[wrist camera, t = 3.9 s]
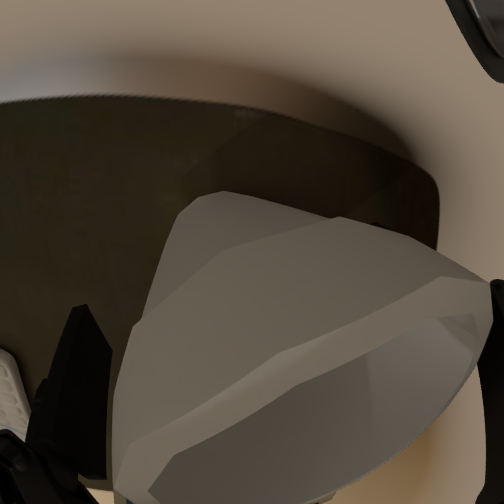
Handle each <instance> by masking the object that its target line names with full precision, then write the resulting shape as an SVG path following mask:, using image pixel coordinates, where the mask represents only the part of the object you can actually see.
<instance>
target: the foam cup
mask: <svg viewBox="0 0 504 504" xmlns="http://www.w3.org/2000/svg"><path fill="white" fill-rule="evenodd" d="M492 323H493V312H492V300H491V291H490V283H488V282H487V281H485V280H483V279H482V278H480V277H478V276H477V275H475V274H474V273H472V272H471V271H469V270H467V269H466V268H464V267H462V266H460V265H459V264H457V263H456V262H454V261H452V260H451V259H449V258H447V257H445V256H443V255H442V254H440V253H438V252H437V251H435V250H433V249H431V248H429V247H428V246H426V245H424V244H422V243H420V242H418V241H417V240H415V239H413V238H411V237H409V236H406V235H403V234H400V233H396V232H393V231H390V230H386V229H383V228H379V227H376V226H372V225H369V224H365V223H361V222H358V221H354V220H350V219H347V218H343V217H336V218H333V219H329V218H326V217H322V216H319V215H316V214H312V213H309V212H306V211H302V210H299V209H295V208H292V207H289V206H285V205H282V204H278V203H274V202H271V201H267V200H263V199H260V198H256V197H252V196H248V195H243V194H238V193H233V192H228V191H220V192H216V193H212V194H209V195H205V196H201V197H198V198H197V199H195V200H194V201H193V202H192V203H191V204H190V205H188V206H187V207H186V208H185V209H184V210H183V211H181V212H180V213H179V214H178V216H177V218H176V220H175V222H174V225H173V227H172V229H171V232H170V234H169V237H168V239H167V241H166V244H165V247H164V250H163V253H162V256H161V258H160V261H159V264H158V267H157V270H156V273H155V276H154V279H153V282H152V286H151V289H150V292H149V295H148V298H147V302H146V305H145V308H144V312H143V315H142V318H141V320H140V321H139V322H138V323H137V324H135V325H134V326H133V328H132V331H131V334H130V338H129V341H128V344H127V348H126V351H125V354H124V358H123V361H122V365H121V369H120V372H119V376H118V380H117V384H116V388H115V392H114V399H113V419H112V469H113V488H114V489H115V490H117V491H118V492H119V493H120V494H122V495H123V496H124V497H126V498H127V499H128V500H130V501H131V502H132V503H134V504H308V503H310V502H313V501H315V500H318V499H320V498H322V497H325V496H327V495H329V494H332V493H334V492H336V491H338V490H340V489H342V488H344V487H346V486H348V485H350V484H352V483H354V482H356V481H358V480H360V479H361V478H363V477H365V476H366V475H368V474H369V473H371V472H372V471H374V470H375V469H377V468H379V467H380V466H382V465H383V464H385V463H386V462H387V461H389V460H390V459H392V458H393V457H394V456H396V455H397V454H398V453H400V452H401V451H403V450H404V449H405V448H406V447H407V446H409V445H410V444H411V443H412V442H413V441H414V440H415V439H416V438H417V437H418V436H420V435H421V434H422V433H423V432H424V431H425V430H426V429H427V428H428V427H429V426H430V425H431V424H432V423H433V422H434V421H435V420H436V419H437V418H438V417H439V416H440V415H441V414H442V413H443V411H444V410H445V409H446V408H447V407H448V405H449V404H450V403H451V401H452V400H453V399H454V397H455V396H456V395H457V393H458V392H459V390H460V389H461V388H462V386H463V385H464V383H465V382H466V380H467V379H468V377H469V376H470V374H471V373H472V371H473V370H474V368H475V366H476V364H477V362H478V360H479V357H480V355H481V353H482V350H483V348H484V345H485V342H486V340H487V337H488V334H489V332H490V329H491V326H492Z"/></svg>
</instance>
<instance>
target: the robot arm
mask: <svg viewBox="0 0 504 504" xmlns="http://www.w3.org/2000/svg"><path fill="white" fill-rule="evenodd" d="M463 1H464V3H465V6H466V8H467V10H468V12H469V14H470V16H471V18H472V20H473V22H474V24H475V25H476V27H477V29H478V31H479V33H480V34H481V36H482V38H483V39H484V41H485V42H486V44H487V45H488V47H489V48H490V50H491V51H492V52H493V53H494V54H495V55H496V56H497V57H498V58H500V59H504V0H463ZM369 225H372V226H376V227H379V228H383V229H386V230H390V231H393V230H391V229H389V228H387V227H385V226H382V225H380V224H378V223H376V222H375V223H372V224H369ZM393 232H395V231H393ZM396 233H397V232H396ZM490 291H491V300H492V312H493V323H492V326H491V329H490V332H489V334H488V337H487V340H486V342H485V345H484V348H483V350H482V353H481V355H480V357H479V360H478V362H477V366H478V371H479V377H480V384H481V390H482V398H483V406H484V417H485V433H486V474H485V484H484V487H483V489H482V491H481V492H480V494H479V495H478V497H477V500H476V502H475V504H504V280H500V279H494V280H492V281H491V282H490ZM112 352H113V351H112V349H111V347H110V346H109V344H108V342H107V341H106V339H105V337H104V335H103V334H102V332H101V330H100V328H99V326H98V325H97V323H96V321H95V319H94V317H93V315H92V313H91V312H90V310H89V308H88V306H87V304H84V305H80V306H77V307H73V308H72V310H71V312H70V315H69V317H68V320H67V322H66V325H65V328H64V330H63V333H62V336H61V338H60V341H59V344H58V347H57V350H56V352H55V355H54V358H53V362H52V365H51V368H50V371H49V374H48V378H47V379H43V381H42V382H41V384H40V385H39V387H38V388H37V391H36V394H35V398H34V403H33V406H32V412H31V414H30V418H29V423H28V427H27V432H26V437H25V442H24V441H23V440H21V439H20V438H19V437H18V436H17V435H16V434H14V433H13V432H12V431H11V430H9V429H2V430H0V504H99V503H98V502H97V501H96V499H95V498H94V497H93V496H92V495H91V493H90V492H89V491H88V490H87V489H86V487H85V486H84V485H83V484H82V483H81V482H80V481H78V473H79V474H80V475H82V476H84V477H85V478H87V479H90V480H107V476H106V419H107V401H108V388H109V377H110V368H111V359H112Z"/></svg>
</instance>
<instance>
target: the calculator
mask: <svg viewBox="0 0 504 504" xmlns="http://www.w3.org/2000/svg"><path fill="white" fill-rule="evenodd" d="M31 412H32V411H31V408H30V405H29V402H28V399H27V396H26V393H25V390H24V387H23V384H22V380H21V377H20V373H19V370H18V367H17V363H16V361H15V359H14V357H13V356H12V355H11V354H9V353H8V352H6V351H5V350H3V349H0V430H2V429H9V430H11V431H12V432H13V433H14V434H16V435H17V436H18V437H19V438H20V439H21V440H23V441H24V442H25V437H26V432H27V427H28V423H29V418H30V414H31Z"/></svg>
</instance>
